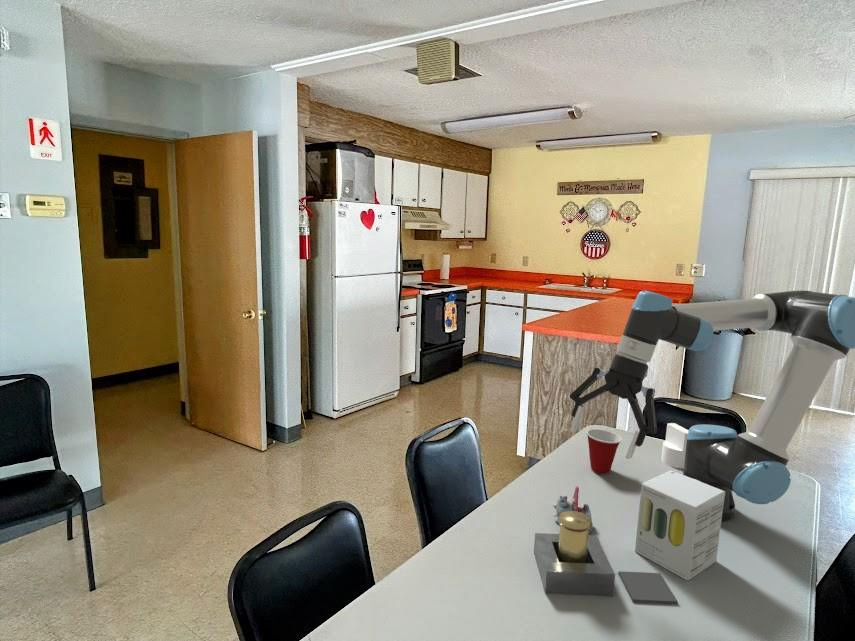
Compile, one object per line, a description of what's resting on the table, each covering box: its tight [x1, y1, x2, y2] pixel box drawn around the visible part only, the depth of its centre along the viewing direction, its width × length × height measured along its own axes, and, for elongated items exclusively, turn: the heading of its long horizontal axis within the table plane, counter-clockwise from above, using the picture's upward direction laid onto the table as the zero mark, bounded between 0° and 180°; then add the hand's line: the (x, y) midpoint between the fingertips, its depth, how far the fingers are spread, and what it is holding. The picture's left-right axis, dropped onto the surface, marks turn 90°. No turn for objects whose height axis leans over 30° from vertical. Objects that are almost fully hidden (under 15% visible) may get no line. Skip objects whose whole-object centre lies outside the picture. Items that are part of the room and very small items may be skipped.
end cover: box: [558, 511, 591, 563], centre depth 115 cm, size 7×7×13 cm
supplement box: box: [634, 469, 725, 581], centre depth 121 cm, size 13×13×18 cm
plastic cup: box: [586, 428, 623, 475], centre depth 166 cm, size 11×11×12 cm
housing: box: [533, 532, 616, 597], centre depth 115 cm, size 14×14×5 cm
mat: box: [618, 570, 679, 605], centre depth 111 cm, size 9×9×1 cm
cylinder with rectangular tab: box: [661, 422, 689, 470], centre depth 174 cm, size 9×9×12 cm
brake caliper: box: [552, 485, 593, 533], centre depth 134 cm, size 11×11×12 cm
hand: (599, 444), depth 122 cm, fingers open, 13 cm apart
